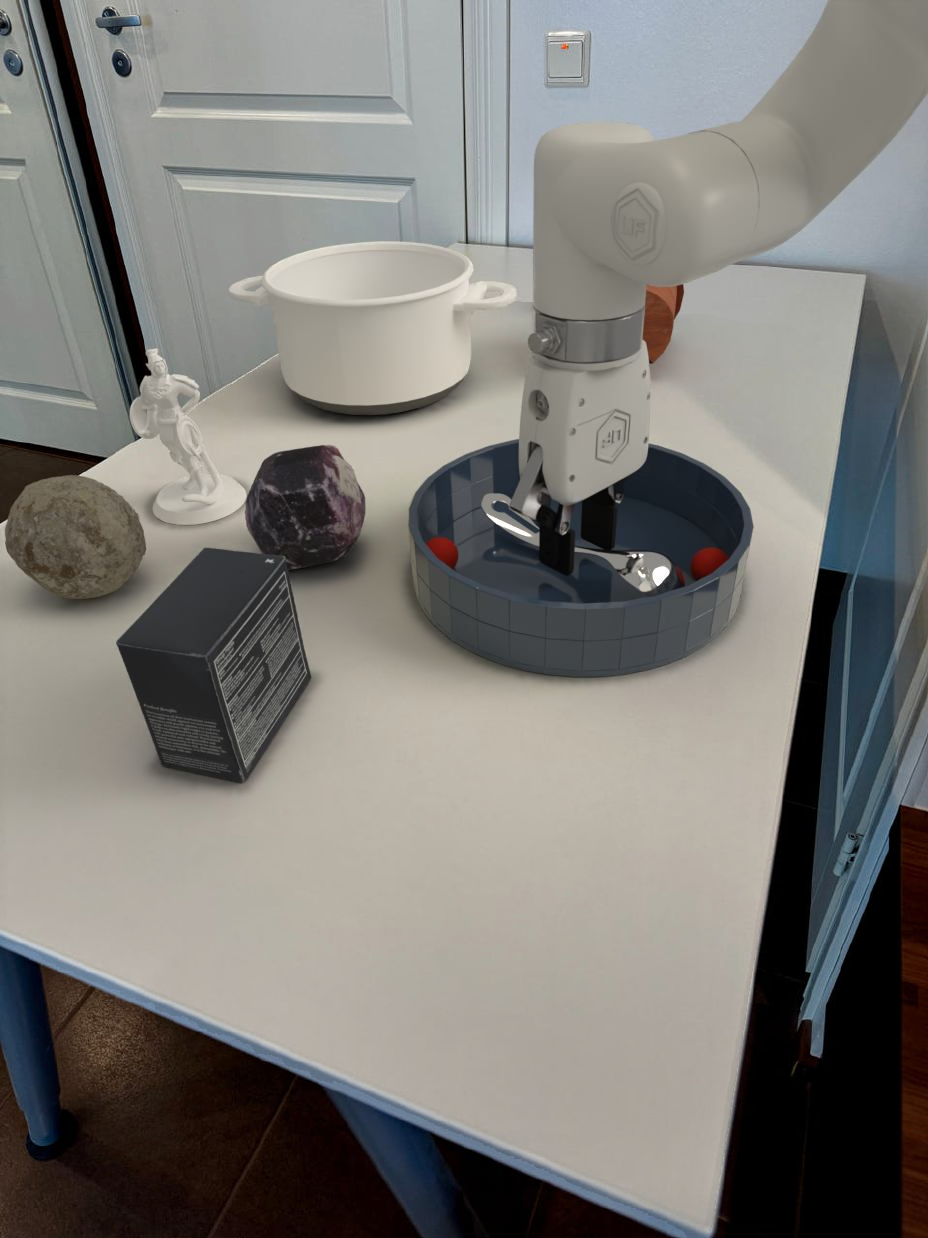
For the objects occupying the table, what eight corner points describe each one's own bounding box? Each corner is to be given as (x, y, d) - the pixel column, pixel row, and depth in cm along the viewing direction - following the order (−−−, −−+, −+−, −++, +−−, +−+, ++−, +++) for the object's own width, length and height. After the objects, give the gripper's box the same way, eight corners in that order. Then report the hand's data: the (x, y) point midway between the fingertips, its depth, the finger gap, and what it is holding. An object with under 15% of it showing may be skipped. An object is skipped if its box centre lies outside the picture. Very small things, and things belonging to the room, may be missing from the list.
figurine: (132, 513, 82) (84, 357, 73) (194, 472, 89) (157, 324, 80) (206, 532, 79) (166, 372, 70) (265, 488, 85) (235, 335, 76)
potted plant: (690, 396, 103) (667, 281, 129) (700, 265, 93) (673, 169, 119) (556, 402, 105) (560, 288, 131) (552, 275, 95) (557, 178, 121)
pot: (531, 357, 110) (533, 242, 102) (498, 438, 92) (496, 306, 84) (285, 346, 117) (267, 237, 108) (208, 419, 99) (180, 295, 90)
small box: (232, 663, 64) (201, 541, 58) (314, 677, 63) (291, 553, 56) (154, 767, 56) (108, 638, 50) (245, 785, 55) (210, 655, 48)
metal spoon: (466, 484, 73) (505, 464, 76) (466, 520, 75) (503, 499, 78) (664, 589, 62) (702, 561, 65) (657, 627, 65) (693, 599, 67)
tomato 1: (426, 581, 72) (448, 558, 73) (450, 582, 70) (471, 557, 71) (407, 553, 71) (429, 530, 72) (431, 552, 68) (453, 528, 70)
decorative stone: (178, 568, 75) (148, 462, 69) (119, 626, 68) (81, 515, 62) (76, 552, 77) (40, 448, 71) (11, 607, 71) (-36, 498, 65)
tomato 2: (712, 569, 66) (679, 561, 68) (721, 597, 68) (688, 589, 70) (733, 543, 67) (700, 536, 69) (741, 572, 69) (708, 564, 71)
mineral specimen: (338, 585, 68) (277, 470, 64) (256, 593, 75) (197, 489, 71) (408, 525, 75) (357, 416, 71) (327, 537, 82) (277, 439, 78)
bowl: (756, 517, 78) (768, 455, 74) (716, 711, 58) (729, 641, 55) (477, 476, 86) (475, 419, 82) (359, 636, 66) (350, 570, 63)
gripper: (543, 379, 53) (539, 620, 64) (705, 311, 62) (678, 533, 73) (459, 350, 58) (469, 579, 69) (622, 291, 67) (608, 502, 78)
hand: (577, 553), depth 71 cm, fingers closed on metal spoon, 4 cm apart
